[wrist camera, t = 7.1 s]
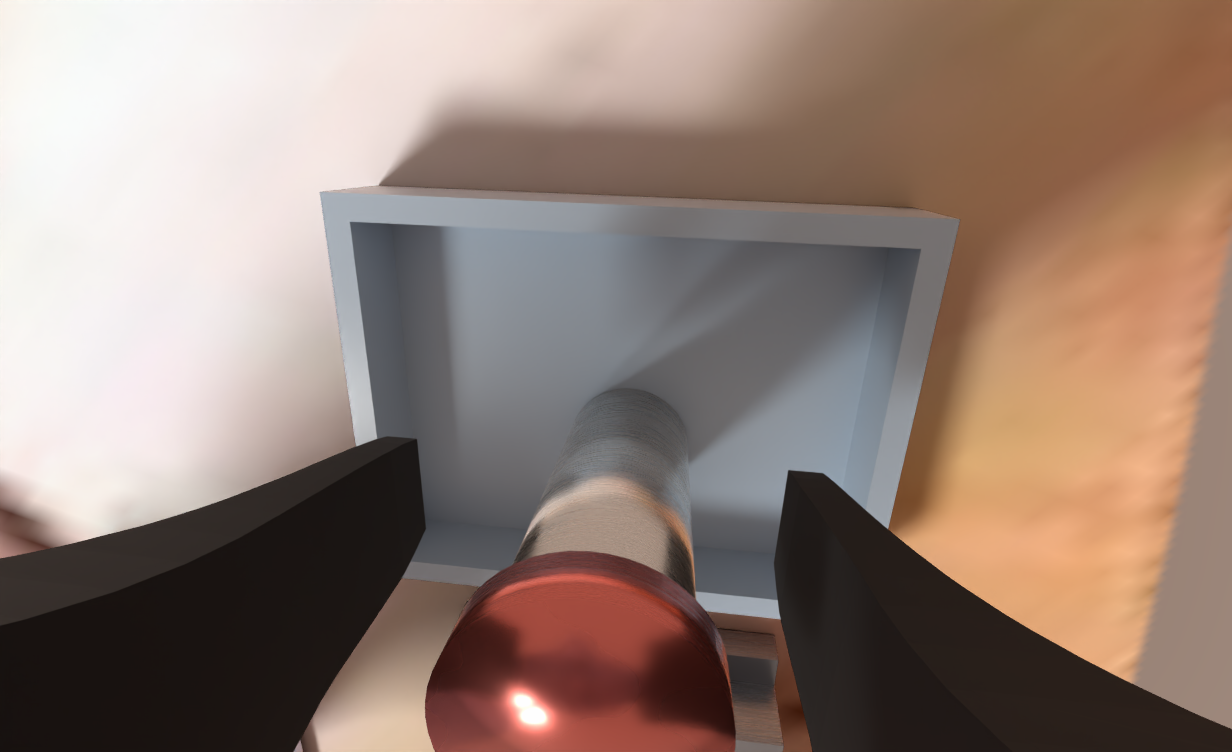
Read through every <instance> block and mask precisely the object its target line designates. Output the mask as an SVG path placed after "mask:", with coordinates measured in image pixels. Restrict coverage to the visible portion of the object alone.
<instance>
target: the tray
mask: <svg viewBox="0 0 1232 752" xmlns="http://www.w3.org/2000/svg"><path fill="white" fill-rule="evenodd" d="M320 197H321V204H322V211H323V218H324V225H325V232H326V239H327V246H328V253H329V260H330V268H331V275H332V282H333V289H334V296H335V303H336V310H337V317H338V324H339V331H340V338H341V345H342V352H343V359H344V366H345V373H346V380H347V387H348V394H349V402H350V409H351V416H352V423H353V430H354V437H355V444H356V446H359V445H361V444H364V443H367V442H369V441H372V440H375V439H379V438H382V437H386V436H391V437H403V438H415V439H417V443H418V453H419V463H420V473H421V483H422V493H423V503H424V513H425V523H426V530H425V532H424V534H423V536H422V539H421V541H420V543H419V545H418V547H417V549H416V552H415V554H414V556H413V558H412V560H411V562H410V564H409V566H408V568H407V570H406V572H405V574H404V575H403V577H402V578H405V579H415V580H424V581H433V582H442V583H451V584H461V585H470V586H479V587H481V586H482V585H483V584H484V583H485V582H486V581H487V580H489V579H490V578H491V577H493V576H494V575H496V574H497V573H498V572H500V571H501V570H503V569H505V568H507V567H509V566H511V565H513V562H514V560H515V558H516V555H517V553H518V551H519V548H520V546H521V544H522V541H523V539H524V537H525V534H526V532H527V530H528V527H529V525H530V523H531V520H532V518H533V516H534V513H535V511H536V509H537V506H538V504H539V502H540V499H541V497H542V495H543V492H544V490H545V488H546V485H547V483H548V481H549V478H550V476H551V474H552V471H553V469H554V467H555V464H556V462H557V460H558V457H559V455H560V453H561V450H562V448H563V446H564V443H565V441H566V439H567V437H568V434H569V432H570V430H571V427H572V425H573V423H574V420H575V418H576V416H577V415H578V413H579V412H580V410H581V409H582V408H583V407H584V406H585V405H586V404H587V403H588V402H589V401H590V400H592V399H593V398H594V397H596V396H598V395H600V394H602V393H604V392H607V391H611V390H614V389H621V388H631V389H639V390H643V391H647V392H649V393H652V394H654V395H656V396H658V397H660V398H661V399H663V400H664V401H666V402H667V403H668V404H669V405H670V406H671V407H672V408H673V409H674V410H675V411H676V412H677V414H678V415H679V417H680V419H681V420H682V423H683V425H684V427H685V431H686V435H687V444H688V462H689V480H690V499H691V517H692V535H693V554H694V572H695V590H696V601H697V602H698V603H699V604H700V605H701V606H702V607H703V608H704V609H705V611H709V612H718V613H727V614H737V615H746V616H755V617H764V618H773V619H780V614H779V607H778V599H777V590H776V581H775V571H774V558H775V552H776V545H777V539H778V532H779V526H780V519H781V513H782V506H783V500H784V494H785V487H786V481H787V474H788V470H794V471H806V472H818V473H824V474H825V475H826V476H828V477H829V478H830V479H831V480H832V481H834V482H835V483H836V484H837V485H838V486H839V487H840V488H842V489H843V490H844V491H845V492H846V493H847V494H848V495H849V496H851V497H852V498H853V499H854V500H855V501H856V502H857V503H858V504H860V505H861V506H862V507H863V508H864V509H865V510H866V511H867V512H869V513H870V514H871V515H872V516H873V517H874V518H875V519H876V520H878V521H879V522H880V523H881V524H882V525H883V526H885V527H886V528H887V529H888V527H889V523H890V519H891V514H892V510H893V506H894V501H895V497H896V493H897V489H898V484H899V480H900V476H901V471H902V467H903V463H904V459H905V454H906V450H907V446H908V441H909V437H910V433H911V428H912V424H913V420H914V416H915V411H916V407H917V403H918V398H919V394H920V390H921V386H922V381H923V377H924V373H925V368H926V364H927V360H928V356H929V351H930V347H931V343H932V338H933V334H934V330H935V326H936V321H937V317H938V313H939V308H940V304H941V300H942V296H943V291H944V287H945V283H946V278H947V274H948V270H949V266H950V261H951V257H952V253H953V248H954V244H955V240H956V236H957V231H958V227H959V223H960V219H957V218H953V217H949V216H945V215H941V214H937V213H933V212H929V211H925V210H921V209H917V208H905V207H881V206H857V205H833V204H808V203H784V202H760V201H736V200H711V199H687V198H663V197H639V196H615V195H590V194H566V193H542V192H518V191H493V190H469V189H445V188H421V187H397V186H369V187H360V188H351V189H342V190H333V191H324V192H320Z"/></svg>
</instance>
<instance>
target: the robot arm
mask: <svg viewBox="0 0 1232 752" xmlns="http://www.w3.org/2000/svg"><path fill="white" fill-rule="evenodd" d="M425 530H426V523H425V513H424V503H423V493H422V483H421V473H420V463H419V453H418V443H417V439H415V438H403V437H391V436H386V437H382V438H379V439H375V440H372V441H369V442H367V443H364V444H361V445H359V446H356V447H354V448H351V449H349V450H346V451H344V452H342V453H339V454H337V455H334V456H332V457H330V458H327V459H325V460H323V461H320V462H318V463H315V464H313V465H311V466H308V467H306V468H304V469H301V470H299V471H297V472H294V473H292V474H289V475H287V476H285V477H282V478H279V479H277V480H274V481H272V482H269V483H267V484H264V485H261V486H259V487H256V488H254V489H251V490H248V491H246V492H243V493H241V494H238V495H236V496H233V497H230V498H228V499H225V500H222V501H219V502H217V503H214V504H211V505H208V506H205V507H202V508H199V509H196V510H193V511H190V512H187V513H183V514H180V515H177V516H174V517H170V518H167V519H164V520H161V521H157V522H154V523H150V524H147V525H144V526H140V527H136V528H132V529H128V530H124V531H120V532H116V533H112V534H108V535H104V536H100V537H96V538H92V539H88V540H84V541H81V542H77V543H73V544H69V545H64V546H60V547H55V548H50V549H46V550H41V551H36V552H31V553H26V554H22V555H17V556H12V557H6V558H1V559H0V752H303V749H302V745H301V741H300V739H301V737H302V735H303V733H304V732H305V730H306V728H307V726H308V724H309V722H310V720H311V719H312V717H313V715H314V713H315V711H316V709H317V707H318V706H319V704H320V702H321V700H322V698H323V697H324V695H325V693H326V692H327V690H328V689H329V687H330V685H331V684H332V682H333V680H334V679H335V677H336V676H337V674H338V673H339V671H340V670H341V668H342V667H343V665H344V664H345V662H346V661H347V659H348V658H349V656H350V655H351V653H352V652H353V650H354V649H355V647H356V646H357V644H358V643H359V641H360V640H361V638H362V637H363V635H364V634H365V632H366V631H367V630H368V628H369V627H370V625H371V624H372V622H373V621H374V619H375V618H376V616H377V615H378V613H379V612H380V610H381V609H382V607H383V606H384V604H385V603H386V601H387V600H388V598H389V597H390V595H391V594H392V592H393V591H394V589H395V588H396V586H397V585H398V583H399V581H400V580H401V578H402V577H403V575H404V574H405V572H406V570H407V568H408V566H409V564H410V562H411V560H412V558H413V556H414V554H415V552H416V549H417V547H418V545H419V543H420V541H421V539H422V536H423V534H424V532H425ZM774 571H775V581H776V590H777V599H778V607H779V614H780V619H781V623H782V627H783V631H784V635H785V640H786V644H787V648H788V652H789V656H790V660H791V664H792V668H793V672H794V676H795V680H796V684H797V688H798V692H799V696H800V700H801V704H802V708H803V712H804V716H805V720H806V724H807V728H808V732H809V737H810V741H811V746H812V751H813V752H1232V729H1230V728H1228V727H1225V726H1223V725H1220V724H1218V723H1216V722H1213V721H1211V720H1208V719H1206V718H1204V717H1201V716H1199V715H1197V714H1195V713H1192V712H1190V711H1188V710H1186V709H1184V708H1182V707H1180V706H1178V705H1175V704H1173V703H1171V702H1169V701H1167V700H1165V699H1163V698H1161V697H1159V696H1157V695H1154V694H1152V693H1150V692H1148V691H1146V690H1144V689H1142V688H1140V687H1138V686H1136V685H1134V684H1131V683H1129V682H1127V681H1125V680H1123V679H1121V678H1119V677H1117V676H1115V675H1113V674H1111V673H1109V672H1107V671H1105V670H1104V669H1102V668H1100V667H1098V666H1096V665H1094V664H1092V663H1090V662H1088V661H1086V660H1084V659H1082V658H1080V657H1078V656H1077V655H1075V654H1073V653H1071V652H1070V651H1068V650H1066V649H1064V648H1062V647H1061V646H1059V645H1057V644H1055V643H1053V642H1052V641H1050V640H1048V639H1046V638H1044V637H1043V636H1041V635H1039V634H1037V633H1035V632H1034V631H1032V630H1030V629H1029V628H1027V627H1025V626H1024V625H1022V624H1020V623H1019V622H1017V621H1015V620H1013V619H1012V618H1010V617H1008V616H1007V615H1005V614H1004V613H1002V612H1001V611H999V610H997V609H996V608H994V607H993V606H991V605H990V604H988V603H987V602H985V601H984V600H982V599H981V598H979V597H978V596H976V595H975V594H973V593H971V592H970V591H968V590H967V589H965V588H964V587H962V586H961V585H960V584H958V583H957V582H955V581H954V580H952V579H951V578H950V577H948V576H947V575H945V574H944V573H943V572H941V571H940V570H939V569H937V568H936V567H935V566H933V565H932V564H931V563H930V562H928V561H927V560H926V559H924V558H923V557H922V556H920V555H919V554H918V553H916V552H915V551H914V550H913V549H911V548H910V547H909V546H908V545H906V544H905V543H904V542H903V541H901V540H900V539H899V538H898V537H896V536H895V535H894V534H893V533H892V532H891V531H889V530H888V529H887V528H886V527H885V526H883V525H882V524H881V523H880V522H879V521H878V520H876V519H875V518H874V517H873V516H872V515H871V514H870V513H869V512H867V511H866V510H865V509H864V508H863V507H862V506H861V505H860V504H858V503H857V502H856V501H855V500H854V499H853V498H852V497H851V496H849V495H848V494H847V493H846V492H845V491H844V490H843V489H842V488H840V487H839V486H838V485H837V484H836V483H835V482H834V481H832V480H831V479H830V478H829V477H828V476H826V475H825V474H824V473H818V472H806V471H794V470H788V474H787V481H786V487H785V494H784V500H783V506H782V513H781V519H780V526H779V532H778V539H777V545H776V552H775V558H774Z"/></svg>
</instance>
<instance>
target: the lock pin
mask: <svg viewBox="0 0 1232 752" xmlns="http://www.w3.org/2000/svg"><path fill="white" fill-rule="evenodd" d="M425 718H426V723H427V728H428V733H429V736H430V739H431V742H432V745H433V748H434V750H435V752H735V746H736V728H735V720H734V711H733V702H732V694H731V685H730V676H729V668H728V661H727V655H726V651H725V648H724V645H723V641H722V638H721V636H720V634H719V632H718V630H717V628H716V626H715V624H714V622H713V621H712V620H711V618H710V617H709V615H708V614H707V612H706V611H705V609H704V608H703V607H702V606H701V605H700V604H699V603H698V602H697V601H696V590H695V572H694V554H693V535H692V517H691V499H690V480H689V462H688V444H687V435H686V431H685V427H684V425H683V423H682V420H681V419H680V417H679V415H678V414H677V412H676V411H675V410H674V409H673V408H672V407H671V406H670V405H669V404H668V403H667V402H666V401H664V400H663V399H661V398H660V397H658V396H656V395H654V394H652V393H649V392H647V391H643V390H639V389H631V388H621V389H614V390H611V391H607V392H604V393H602V394H600V395H598V396H596V397H594V398H593V399H592V400H590V401H589V402H588V403H587V404H586V405H585V406H584V407H583V408H582V409H581V410H580V412H579V413H578V415H577V416H576V418H575V420H574V423H573V425H572V427H571V430H570V432H569V434H568V437H567V439H566V441H565V443H564V446H563V448H562V450H561V453H560V455H559V457H558V460H557V462H556V464H555V467H554V469H553V471H552V474H551V476H550V478H549V481H548V483H547V485H546V488H545V490H544V492H543V495H542V497H541V499H540V502H539V504H538V506H537V509H536V511H535V513H534V516H533V518H532V520H531V523H530V525H529V527H528V530H527V532H526V534H525V537H524V539H523V541H522V544H521V546H520V548H519V551H518V553H517V555H516V558H515V560H514V562H513V565H511V566H509V567H507V568H505V569H503V570H501V571H500V572H498V573H497V574H496V575H494V576H493V577H491V578H490V579H489V580H487V581H486V582H485V583H484V584H483V585H482V586H481V587H480V588H479V589H478V590H477V591H476V592H475V593H474V594H473V596H472V597H471V598H470V600H469V601H468V602H467V604H466V606H465V607H464V609H463V611H462V613H461V615H460V617H459V619H458V621H457V623H456V625H455V627H454V629H453V631H452V633H451V635H450V637H449V639H448V641H447V643H446V645H445V647H444V649H443V651H442V653H441V655H440V657H439V659H438V661H437V663H436V665H435V667H434V669H433V671H432V674H431V677H430V680H429V683H428V686H427V692H426V699H425Z"/></svg>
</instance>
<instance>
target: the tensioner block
mask: <svg viewBox="0 0 1232 752" xmlns="http://www.w3.org/2000/svg"><path fill="white" fill-rule="evenodd" d="M467 602H468V601H467ZM466 604H467V603H466ZM465 606H466V605H465ZM717 630H718V632H719V634H720V636H721V638H722V641H723V645H724V648H725V651H726V655H727V661H728V668H729V676H730V685H731V694H732V702H733V711H734V720H735V728H736V746H735V752H783V748H784V744H783V738H782V732H781V725H780V719H779V713H778V706H777V700H776V694H775V687H774V684H775V678H776V672H777V666H778V655H777V649H776V643H775V638H774V635H768V634H759V633H751V632H742V631H733V630H724V629H717Z"/></svg>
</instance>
